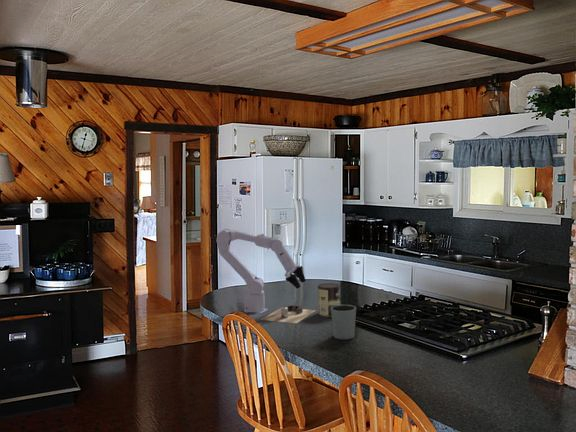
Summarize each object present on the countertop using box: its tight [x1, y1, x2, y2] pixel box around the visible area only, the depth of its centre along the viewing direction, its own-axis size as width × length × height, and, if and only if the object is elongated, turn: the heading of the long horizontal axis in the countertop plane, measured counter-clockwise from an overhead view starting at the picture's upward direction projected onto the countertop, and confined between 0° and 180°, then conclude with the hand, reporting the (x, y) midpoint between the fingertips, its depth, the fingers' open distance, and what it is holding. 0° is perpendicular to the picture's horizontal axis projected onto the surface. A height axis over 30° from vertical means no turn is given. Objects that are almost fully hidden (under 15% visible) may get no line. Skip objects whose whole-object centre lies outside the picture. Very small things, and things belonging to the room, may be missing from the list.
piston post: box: [280, 306, 288, 318], centre depth 263 cm, size 3×3×4 cm
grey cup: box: [331, 304, 357, 340], centre depth 233 cm, size 10×10×12 cm
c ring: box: [284, 304, 303, 314], centre depth 273 cm, size 7×9×2 cm
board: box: [260, 307, 317, 324], centre depth 267 cm, size 18×24×1 cm
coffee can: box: [317, 282, 341, 319], centre depth 267 cm, size 10×10×14 cm
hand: (301, 284), depth 275 cm, fingers open, 7 cm apart
